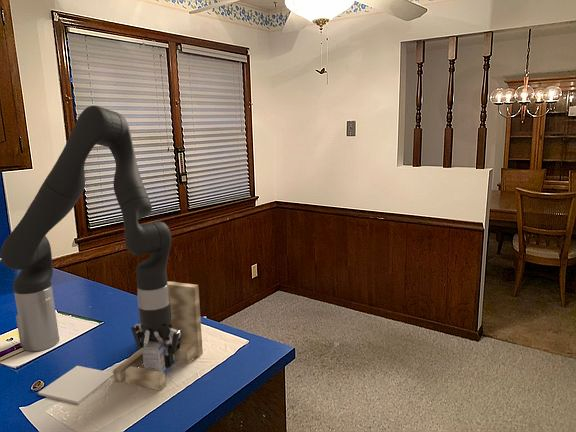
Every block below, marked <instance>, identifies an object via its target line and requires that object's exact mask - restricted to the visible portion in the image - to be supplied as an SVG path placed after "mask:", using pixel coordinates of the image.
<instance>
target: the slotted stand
mask: <svg viewBox="0 0 576 432" xmlns="http://www.w3.org/2000/svg"><path fill="white" fill-rule="evenodd" d="M167 284H168V289H169V295H170V307H171V321H170V322H171V325H172V327H173V329H176V330H179V329H182V331H183V333H182V339H181V345H180V349H179V350H178V351H177V352H176V353H174V358H175V363H178V362H179V364H185V365H189V364H190V363H191V362H192V361H193V360H194V359H195V358H196V357H197V358H200V357H201V356H202V355H203V353H204V352H203V351H204V349H203V339H202V338H203V337H202V336H203V335H202V322H201V307H200V290H199V284H193V283H185V282H184V283H183V282H177V281H173V282H170V281H168V280H167ZM170 334H171V333H170ZM143 363H144V362H143V352H142V348H140V349H138V350H137V351H135V352H134V353H133V354H132V355H131V356H129V357H128V358H126V359H125V360H124V361H123V362H122V363H120V364H119V365H118V366H116V367H115V368H114V369H112V373H114V377H113V380H115V381H114V382H117V381H119V382H118V383H122V382H123V381H124V380H125V384H129V385H131V386H136V387H141V388H146V389H152V390H156V391H160V392H161V391H162V390H163V389H164V388H165V387H167V385H166V384H167V383H166V375H165V373H163V372H158V371H152V370H147V369H144V368H142V367H141V366H143V365H144V364H143ZM142 364H143V365H142ZM138 367H139V368H138Z"/></svg>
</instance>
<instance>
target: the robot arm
mask: <svg viewBox="0 0 576 432" xmlns="http://www.w3.org/2000/svg"><path fill="white" fill-rule="evenodd" d="M95 145H98V146H103V147H107V148H108V149H109V150H110V152H111V154H112V156H113V159H114V162H115V171H114V172H115V173H114V175H113V176H114V177H113V192H114V196H115V197H116V200H117V203H118V206H119V208H120V211H121V215H122V219H123V220H122V222H123V230H124V244H125V248H126V250H127V251H128V252H129V253H131V254H132V255H133V256H142V255H143V256H144V255H146V254H150V255H149V257H148V258H147V259H145V260H143V261H141V262H139V263H138V265H137V266H136V269H135V271H136V272H135V273H136V275H135V276H136V286H137V305H138V315H139V317H138V318H139V322H138V323H136V324H134V325H133V326H131V332H132V336H133V338H134V342H135V344H136V347H137V348H138V350H140V349H141V348H143V347H144V346H145V345H146V344H147V343H149V342H150V341H156V342H159V345H162V347H163V350H164V354H165V355H164V358H165V368H169V367H170V366H172V364H173V363H174V358H173V354H174V353H176V352H177V351H178V350H179V349H180V345H181V339H182V333H183V331H182V329H179V330H176V329H173V327H172V325H171V322H170V321H171V307H170V295H169V289H168V284H167V281H168V275H167V273H168V272H167V265H168V261H169V256H170V255H169V254H170V251H171V247H172V245H171V244H172V231H171V230H170V227H169V226H168V225H167V224H166V223H165V222H164V221H154V222H149V223H144V224H143V223H142V224H140V222H139V220H141V219H143V218H145V217H147V216H149V215H150V214H151V212H152V210H153V206H152V203H151V200H150V198H149V195H148V193H147V190H146V187H145V186H144V185H145V184H144V183H143V182H144V181H143V180H142V177H141V175H140V171H139V170H140V169H139V166H138V163H137V158H136V152H135V149H134V144H133V138H132V134H131V129H130V126H129V123H128V121H127V119H126V118H125V116H124V115H122V114H120V113H118V112H116V111H114V110H110V109H107V108H106V107H102V106H97V105H90V106H87V107H86V108H85V109H84V110H82V112H80V114H79V116H78V118H77V119H76V122H75V124H74V126H73V127H72V130H71V132H70V135H69V137H68V138H67V141H66V143H65V145H64V147H63V149H62V151H61V152H60V155H59V157H58V158H57V160H56V162H55V164H54V165H53V166H52V168H51V170H50V172H49V173H48V174H47V176H46V178H45V179H44V181H43V182H42V184H41V186H40V188H39V189H38V191H37V193H36V195H35V197H34V198H33V200H32V202H30V204H29V206H28V208H27V210H26V211H25V213H24V215H23V216H22V218H21V220H20V221H19V222H18V223H17V225H16V226H15V227H14V229H13V230H12V231H11V232H10V234H9V235H8V236H7V237H6V238H5V240H4V242H3V243H2V245H1V246H0V247H1V248H0V259H1V262H2V263H3V265H4V266H5V267H7V268H8V269H10V270H15V271H18V270H20V272H19V274H17V276H16V277H15V279H14V281H13V283H12V285H13V286H12V287H13V292H14V299H15V304H16V305H15V306H16V310H17V311H16V312H17V314H16V315H15V320H16V325H17V330H18V331H17V332H18V337H19V343H20V347H22V348H23V350H24V351H27V352H38V351H43V350H46V349H50V348H51V347H53V346H55V345H57V344H58V343H59V341H60V335H59V328H58V320H57V314H56V306H55V300H54V293H53V292H54V291H53V286H52V277H53V274H54V270H53V269H54V267H53V256H52V249H51V244H50V241H49V239H48V237H47V236H46V235H47V234H48V233H49V232H50V231H51V230H52V229H53V228H54V227H55V226H56V225H58V224H59V223H60V222H61V221H62V220H63V219H64V218H66V216H67V215H68V214H69V213H70V212H71V211H72V210H73V208H74V207H75V206H76V205H77V202H78V201H79V200H80V197H81V196H82V194H83V193H84V190H85V187H86V186H85V185H86V173H85V165H86V164H85V163H86V160H87V158H88V156H89V155H90V153H91V151H92V149H93V148H94V147H95ZM170 333H171V336H172V337H171V336H170ZM171 338H172V339H171ZM164 340H166V341H165V342H164ZM167 346H168V347H167ZM172 367H173V366H172Z"/></svg>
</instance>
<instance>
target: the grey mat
mask: <svg viewBox="0 0 576 432" xmlns="http://www.w3.org/2000/svg"><path fill="white" fill-rule="evenodd" d="M113 376H114V373H113V372H110V371H106V370H100V369H96V368H90V367H85V366H81V365H76V366H75V367H74V368H72V369H70V370H68V371H67V372H66V373H64V374H63V375H61V376H60V377H59V378H57V379H55V380H54V381H52V382H51V383H50V384H48V385H46V386H45V387H43V389H40V390H39V391H38V392H37V394H38V395H39V396H43V397H47V398H50V399H55V400H60V401H63V402H68V403H71V404H77V405H80V404H81V403H82V402H83V401H85V400H86V399H87V398H88V397H90V396H91V395H92V394H94V393H95V392H96V391H97V390H98V389H100V388H101V387H102V386H104V385H105V384H106V383H108V382H109V381H110V380H111V379H112V378H114V377H113ZM110 378H111V379H110ZM109 379H110V380H109ZM108 380H109V381H108ZM103 384H104V385H103Z"/></svg>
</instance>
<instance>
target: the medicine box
mask: <svg viewBox="0 0 576 432" xmlns="http://www.w3.org/2000/svg"><path fill="white" fill-rule="evenodd" d="M170 336H171V334H170ZM171 337H172V336H171ZM171 339H172V338H171ZM165 341H166V340H164V342H165ZM167 347H168V346H167ZM142 352H143V362H144V364H143V369H147V370H152V371H158V372H163V373H165V376H166V375H167V374H168V372H170V370H171V369H172V368H173V367H174V365H175V364H176V362H175V358H174V354H173V358H174V363H173V364H172V366H170V367H169V368H165V358H164V355H165V354H164V350H163V347H162V345H159V342H156V341H150V342H149V343H147V344H146V345H145V346H144V347H143V348H142Z"/></svg>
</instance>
